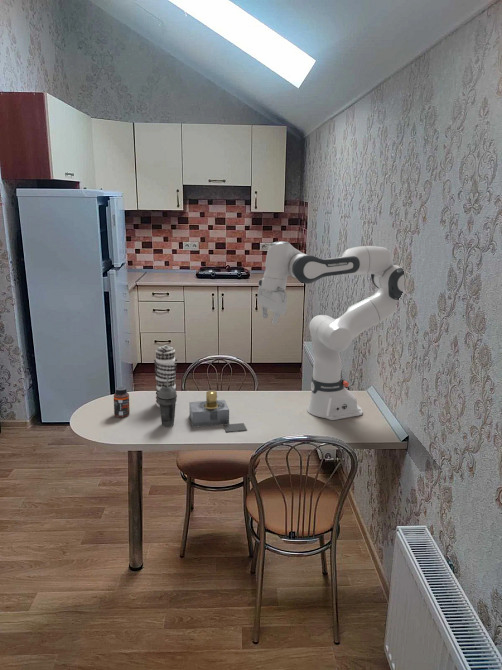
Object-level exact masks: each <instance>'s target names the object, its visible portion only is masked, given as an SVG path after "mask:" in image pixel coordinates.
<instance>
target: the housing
mask: <svg viewBox="0 0 502 670" xmlns="http://www.w3.org/2000/svg"><path fill="white" fill-rule="evenodd" d="M188 405H189V410H188V411H189V419H190V422H191V426H192V428H195V427H196V428H197V427H207V426H208V427H209V426H221V425H222V424H223V425H226V424H230V408H229V406H228V404H227V402H226V400H225V399H217V405H218V408H215V409H209V408H205V405H206V400H203V401H189V404H188ZM223 425H222V426H223Z"/></svg>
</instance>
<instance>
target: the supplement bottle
mask: <svg viewBox="0 0 502 670" xmlns="http://www.w3.org/2000/svg"><path fill="white" fill-rule="evenodd" d="M113 412H114V413H113V414H114V416H115V417H117V418H120V419H121V418H126V417H128V416H129V415H130V414H131V413H130V412H131V411H130V393H129V392H127V387H125V386H118V387H116V388H115V393H114V394H113Z"/></svg>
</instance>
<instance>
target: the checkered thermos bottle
mask: <svg viewBox="0 0 502 670" xmlns="http://www.w3.org/2000/svg"><path fill="white" fill-rule="evenodd" d="M154 352H155V356H156V357H155V359H154V360H153V366H154V376H155V380H156V388H155V391H156V392H155V399H156V400H155V404H156V406H157V407H158V408H160V405H159V401H158V392H159V390H160V389H161V388H162V387H163V386H166V385H167V376H168V386H171V387H173V388H174V389H175V391H176V394H177V388H176V386H177V385H176V378H177V376H176V375H177V372H176V371H177V369H178V368H177V366H178V364H177V363H176V362H177V361H178V359H177V358H176V356H175V354H176V353H175V352H176V349H175V348H174V347H173V346H172V345H168V344H165V345H164V344H163V345H160V346H158V347H157V349H155V351H154ZM176 401H177V399H176ZM176 406H177V403H176V404H175V407H176Z"/></svg>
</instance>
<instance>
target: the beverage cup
mask: <svg viewBox="0 0 502 670" xmlns="http://www.w3.org/2000/svg"><path fill="white" fill-rule="evenodd" d="M176 392H177V390H176V391H175V389H174V388H173V387H171V386H168V376H167V385H166V386H163V387H162V388H161V389H160V390H159V392H158V401H159V405H160V407H159V411H160V412H159V413H160V421H161V422H160V423H161V425H162V427H165V428H169V427H173V426H174V425H175V417H176V406H175V404H176V405H177V400H176V399H177V397H178V395H177V393H176Z"/></svg>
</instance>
